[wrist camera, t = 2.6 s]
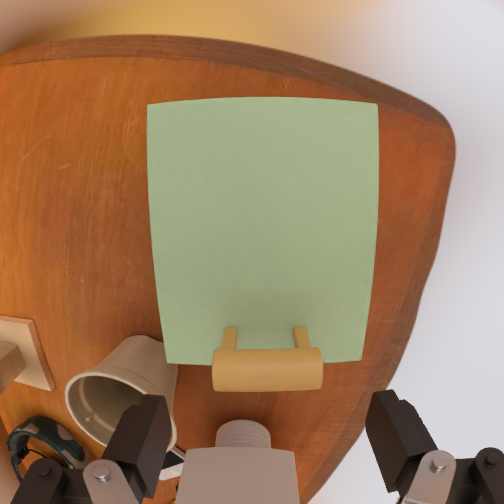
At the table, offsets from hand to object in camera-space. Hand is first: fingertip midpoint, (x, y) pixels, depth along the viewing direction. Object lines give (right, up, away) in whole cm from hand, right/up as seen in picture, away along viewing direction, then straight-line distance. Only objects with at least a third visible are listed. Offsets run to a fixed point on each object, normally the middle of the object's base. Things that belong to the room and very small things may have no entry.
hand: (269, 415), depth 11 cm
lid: (0, +7, +6) cm, 9 cm away
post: (-29, -6, +18) cm, 34 cm away
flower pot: (-11, -4, +17) cm, 21 cm away
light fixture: (-2, -14, +20) cm, 24 cm away
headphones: (-30, -25, +23) cm, 45 cm away
